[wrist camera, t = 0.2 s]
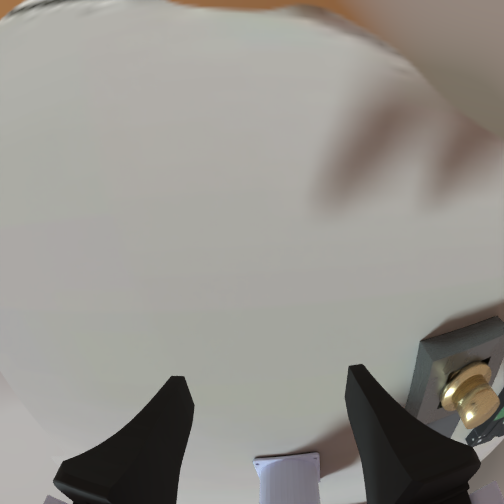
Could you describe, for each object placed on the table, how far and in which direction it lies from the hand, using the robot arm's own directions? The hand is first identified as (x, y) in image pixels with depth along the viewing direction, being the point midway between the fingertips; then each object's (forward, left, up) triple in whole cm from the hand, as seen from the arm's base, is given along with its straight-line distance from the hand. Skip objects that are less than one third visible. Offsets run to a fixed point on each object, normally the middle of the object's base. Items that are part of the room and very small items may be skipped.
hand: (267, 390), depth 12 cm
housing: (-13, -18, -10) cm, 24 cm away
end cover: (-13, -18, -10) cm, 24 cm away
